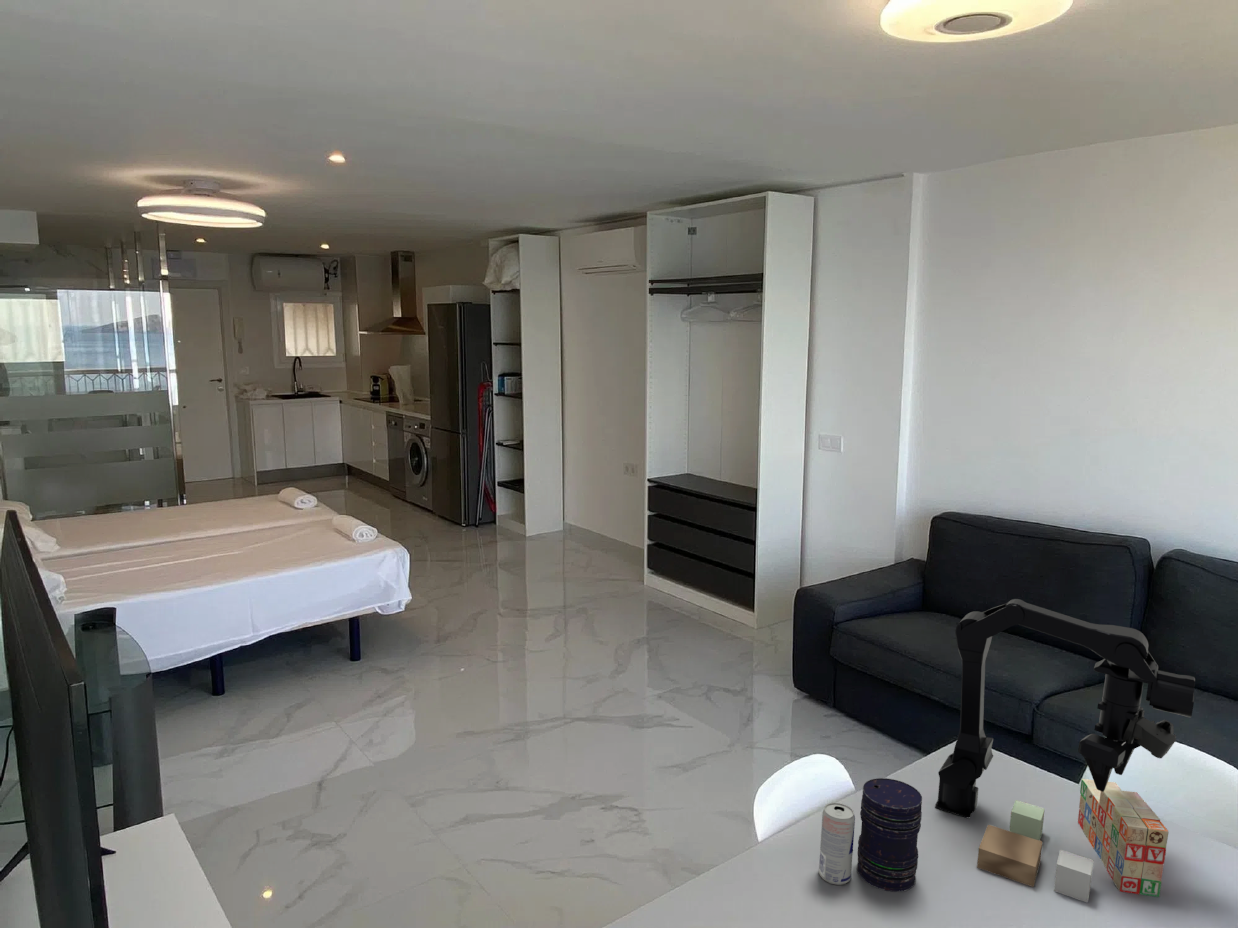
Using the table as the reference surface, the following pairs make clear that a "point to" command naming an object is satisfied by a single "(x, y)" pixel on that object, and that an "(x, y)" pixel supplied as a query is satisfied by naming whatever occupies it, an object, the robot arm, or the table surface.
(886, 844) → the storage jar
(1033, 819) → the sage cube
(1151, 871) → the stack of blocks
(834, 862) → the energy drink
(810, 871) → the table surface
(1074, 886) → the grey cube
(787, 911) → the table surface
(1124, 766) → the robot arm
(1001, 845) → the walnut block
